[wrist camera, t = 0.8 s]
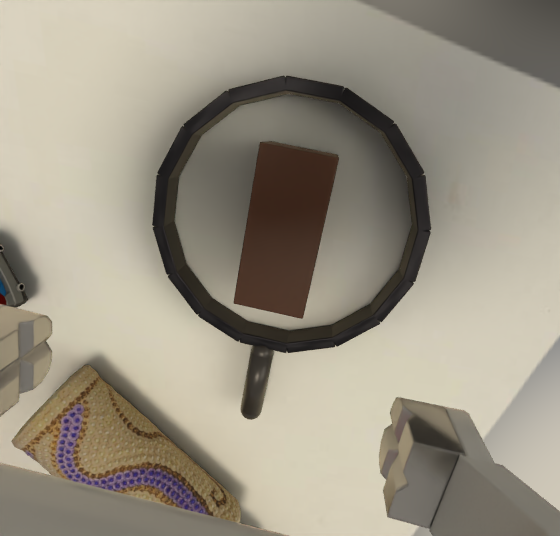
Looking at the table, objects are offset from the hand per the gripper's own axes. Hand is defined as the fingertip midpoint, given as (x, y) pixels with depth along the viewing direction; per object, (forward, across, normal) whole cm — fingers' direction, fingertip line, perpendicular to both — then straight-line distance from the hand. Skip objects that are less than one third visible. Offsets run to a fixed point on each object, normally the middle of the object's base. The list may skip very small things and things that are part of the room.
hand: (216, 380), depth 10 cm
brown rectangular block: (+20, 0, 0) cm, 20 cm away
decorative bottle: (+20, +6, +24) cm, 32 cm away
